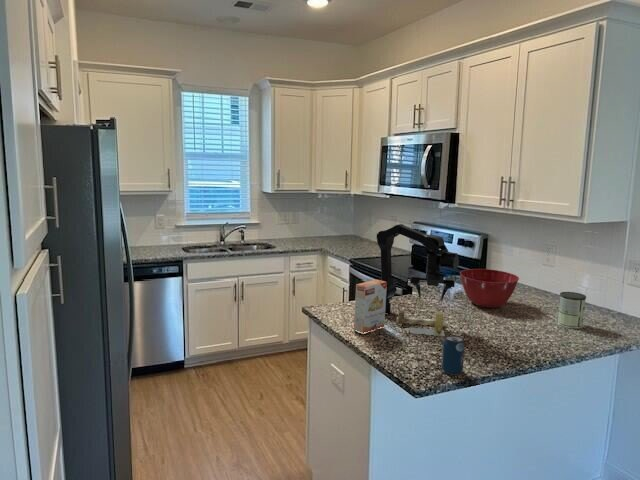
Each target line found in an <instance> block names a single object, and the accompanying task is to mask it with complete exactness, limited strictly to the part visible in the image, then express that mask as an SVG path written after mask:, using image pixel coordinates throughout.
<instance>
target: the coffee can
mask: <svg viewBox="0 0 640 480" xmlns="http://www.w3.org/2000/svg"><path fill="white" fill-rule="evenodd" d="M586 299H587V296H586V295H585V294H583V293H581V292H580V293H579V292H574V291H562V292H560V293H559V303H558V304H559V305H558V312H557V313H558V314H557V325H559V326H561V327H563V328H569V329H582V328H583V327H584V317H585V307H586Z"/></svg>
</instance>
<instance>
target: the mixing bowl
mask: <svg viewBox="0 0 640 480" xmlns="http://www.w3.org/2000/svg"><path fill="white" fill-rule="evenodd" d="M459 275H460V279H461V284H462V287H463V290H464V292H465V295H466V297H467V298H468V300H469V301H470V302H471V303H473V305H475V304H476V306H478V307H481V306H482V308H490V309H494V308H495V309H496V308H499V307H502V306H503V305H505V304H506V303H507V302H508V301H509V300H510V298H511V297H512V295H513V293H514V291H515V289H516V287H517V284H518V282H519V280H520V277H519V276H518V275H517V274H514V273H512V272H511V273H510V272H507V271H503V270H497V269H488V268H471V269H464V270H461V271H460V272H459Z"/></svg>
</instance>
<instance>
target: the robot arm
mask: <svg viewBox="0 0 640 480" xmlns="http://www.w3.org/2000/svg"><path fill="white" fill-rule="evenodd" d="M399 235H401V236H404V237H406V238H409V239H410V240H414V241H415V242H418V243H420V244H421V245H422V246H423V247H424V248H426V250H425V251H423V252H422V254H424V255H427V259H426V268H425V269H426V270H425V272H426V273H425V277H421V276H420V275H419V274H411V275H410V281H409V282H410V284H412V285H413V286H415V288H416V290H417V293H418V294H417V295H418V299H419V300H420V299H421V296H422V295H421V283H426V285H427V286H433V287H438V286H439V284H442V285H443V286H442V290H441V296H440V301H441V302H442V301H443V299H444V297H445V294H446V293H447V292H448V290H449V289H451V290H452V288H455V284H456V282H455V279H454V278H453V277H445V275H444V274H440V271H441V268H445V269H446V268H447V269H450V270H451V269H452V270H457V269H458V267H459V265H460V259H459V256H458V253H457V252H450V251H449V249H448V248H447V246H446V244H445V241H444V238H443V237H442V236H440V235H436V234H428V233H424V232H422V231H420V230H417V229H414V228H412V227H410V226H406V225H404V224H402V223H399V224H395V225H394V226H392V227H390V228H387V229H385V230H380V231H378V233H376V241H377V242H376V243H377V245H378V248H379V250H380V271H381V272H380V275H381V276H380V278H381V279H380V280H381V281H385V282H387V290H386V306H385V313H389V314H390V313H391V310H392V309H391V305H392V304H391V302H390V301H391V300H392V299H393V297H394V296H395V295H396V293H397V291H398V290H397V282H395V281H394V280H393V277H392V276H393V274H392V272H393V271H392V269H393V268H392V248H393V245H394V244H395V243H394V242H395V238H396V237H398V236H399Z"/></svg>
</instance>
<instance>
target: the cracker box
mask: <svg viewBox="0 0 640 480" xmlns="http://www.w3.org/2000/svg"><path fill="white" fill-rule="evenodd" d="M386 290H387V282H385V281H381V279H373V280H370V281H365V282H360V283H357V284H355V298H354V317H353V318H354V319H353V320H354V322H353V331H354V330H357V331H360V332H363V333H364V332H368V331H371V330H374V329H377V328H380V327H384V328H385V321H386V320H385V318H386V315H385V306H386Z"/></svg>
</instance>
